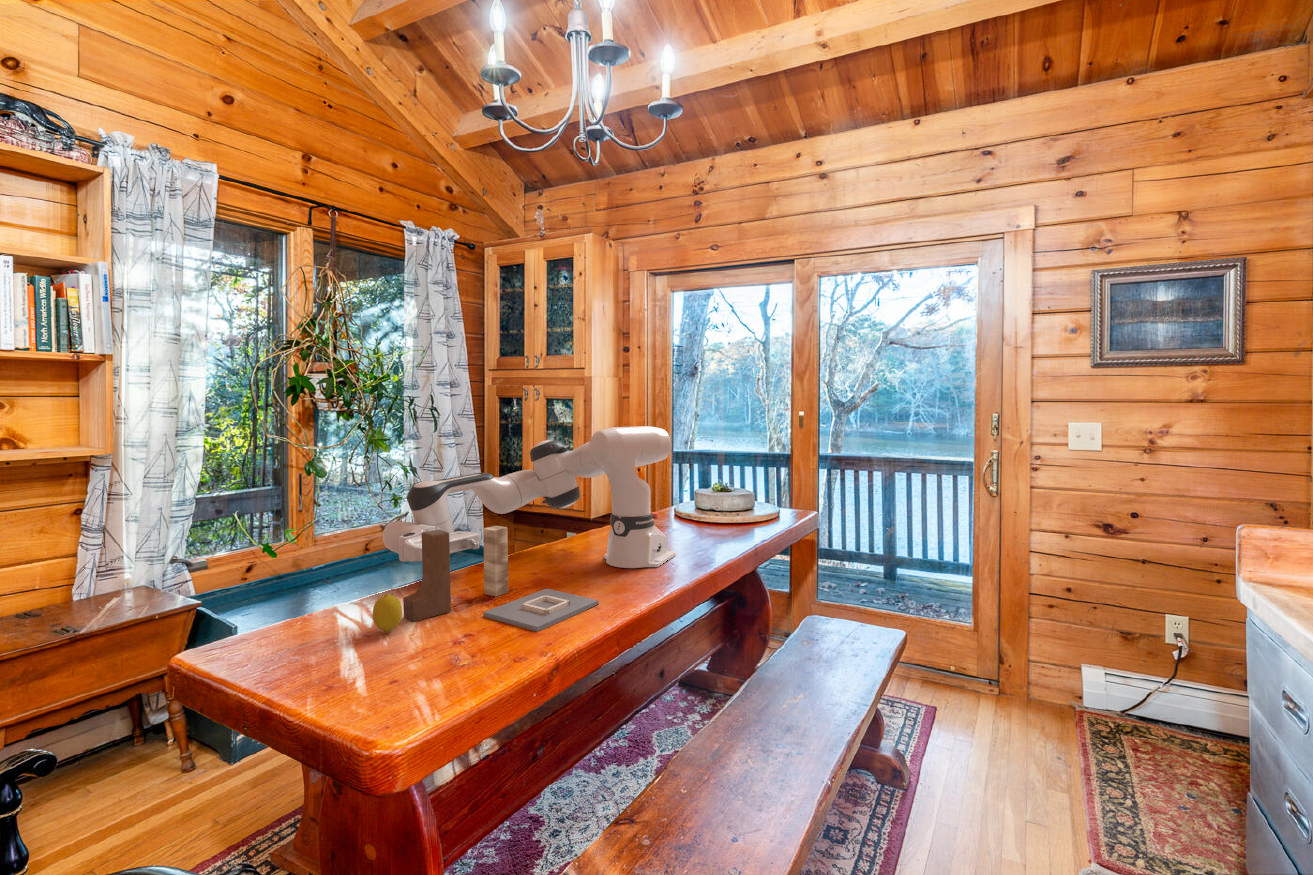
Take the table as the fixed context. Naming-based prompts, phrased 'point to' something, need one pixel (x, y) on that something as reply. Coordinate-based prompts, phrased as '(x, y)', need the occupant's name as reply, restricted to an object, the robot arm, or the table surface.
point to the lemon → (387, 612)
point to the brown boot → (431, 579)
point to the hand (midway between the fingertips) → (462, 549)
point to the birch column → (495, 560)
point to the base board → (540, 609)
